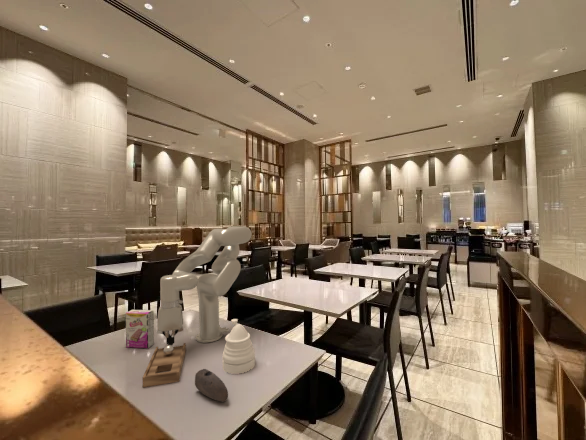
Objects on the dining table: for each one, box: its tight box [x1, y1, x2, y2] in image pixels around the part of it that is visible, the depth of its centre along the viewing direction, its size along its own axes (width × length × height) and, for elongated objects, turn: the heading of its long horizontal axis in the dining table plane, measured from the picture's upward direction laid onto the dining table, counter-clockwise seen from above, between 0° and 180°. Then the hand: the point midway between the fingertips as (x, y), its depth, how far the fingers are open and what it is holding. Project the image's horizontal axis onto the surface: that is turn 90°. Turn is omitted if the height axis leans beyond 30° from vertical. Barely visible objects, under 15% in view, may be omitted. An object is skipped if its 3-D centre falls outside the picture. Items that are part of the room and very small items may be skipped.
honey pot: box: [221, 318, 256, 375], centre depth 112 cm, size 13×13×18 cm
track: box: [142, 342, 187, 388], centre depth 111 cm, size 24×12×4 cm, turn 16°
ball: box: [163, 344, 175, 355], centre depth 116 cm, size 4×4×4 cm
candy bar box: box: [124, 309, 155, 349], centre depth 129 cm, size 11×5×16 cm, turn 84°
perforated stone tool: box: [194, 368, 229, 403], centre depth 93 cm, size 15×5×7 cm, turn 51°
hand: (170, 345), depth 122 cm, fingers closed
